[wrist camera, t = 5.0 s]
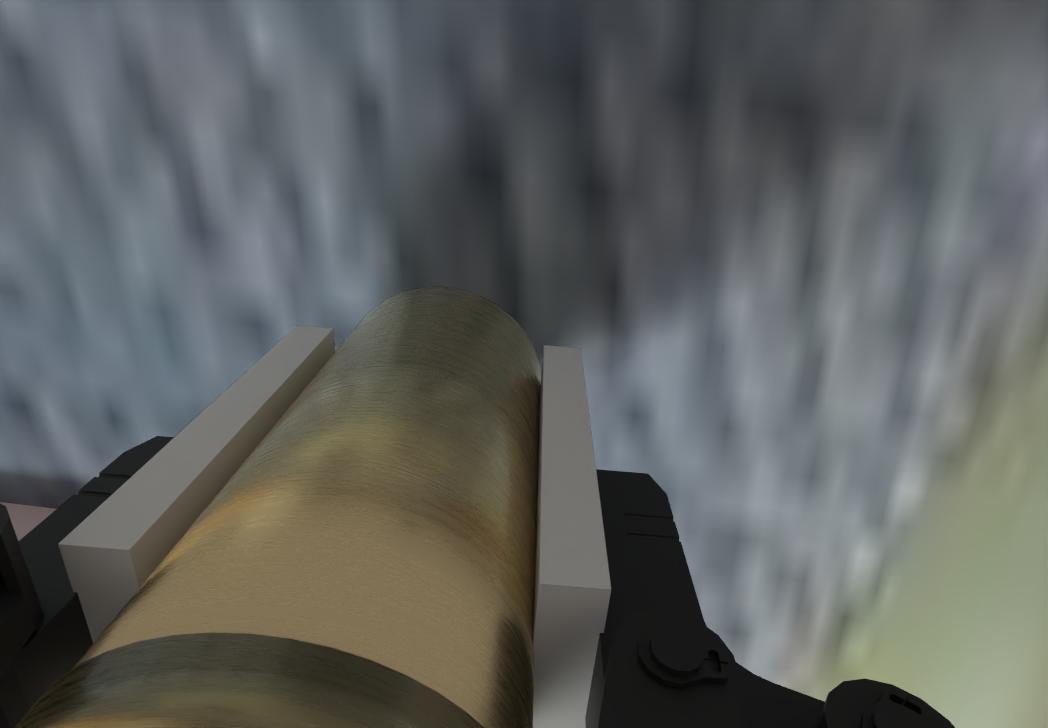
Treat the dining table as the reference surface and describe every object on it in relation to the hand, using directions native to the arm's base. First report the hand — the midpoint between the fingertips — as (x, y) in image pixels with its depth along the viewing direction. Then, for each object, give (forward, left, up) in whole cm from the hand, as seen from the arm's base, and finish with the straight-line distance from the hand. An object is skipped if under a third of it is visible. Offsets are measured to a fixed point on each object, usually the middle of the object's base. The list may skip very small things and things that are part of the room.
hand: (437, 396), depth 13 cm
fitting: (0, 0, -1) cm, 1 cm away
